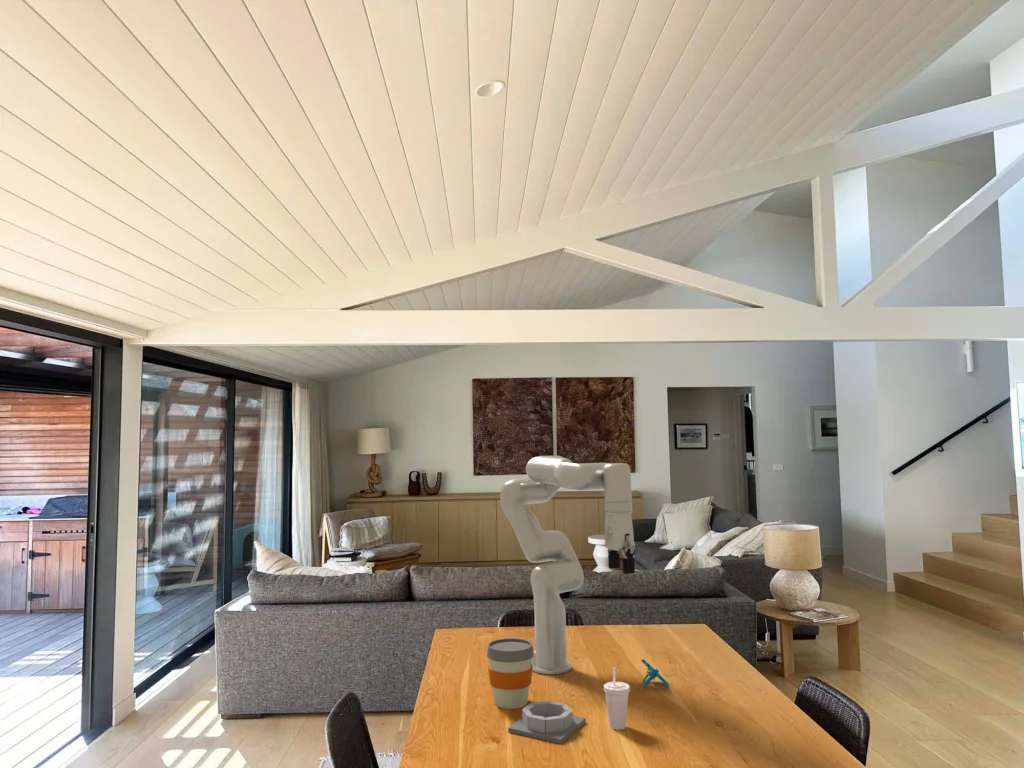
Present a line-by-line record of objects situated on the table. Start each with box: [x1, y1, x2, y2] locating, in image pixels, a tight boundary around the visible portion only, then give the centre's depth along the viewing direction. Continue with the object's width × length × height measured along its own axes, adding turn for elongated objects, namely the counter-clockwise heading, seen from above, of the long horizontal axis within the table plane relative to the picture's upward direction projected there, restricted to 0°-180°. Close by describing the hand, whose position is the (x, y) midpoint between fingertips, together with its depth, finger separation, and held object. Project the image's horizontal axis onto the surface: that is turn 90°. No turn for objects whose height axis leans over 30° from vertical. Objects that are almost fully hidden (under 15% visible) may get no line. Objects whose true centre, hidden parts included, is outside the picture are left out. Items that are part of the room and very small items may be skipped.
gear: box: [640, 658, 671, 688], centre depth 198 cm, size 11×6×10 cm
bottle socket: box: [507, 700, 587, 745], centre depth 170 cm, size 14×14×4 cm
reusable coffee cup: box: [486, 637, 534, 710], centre depth 187 cm, size 13×13×15 cm
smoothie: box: [603, 666, 631, 731], centre depth 170 cm, size 6×6×14 cm
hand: (621, 570), depth 193 cm, fingers open, 9 cm apart
